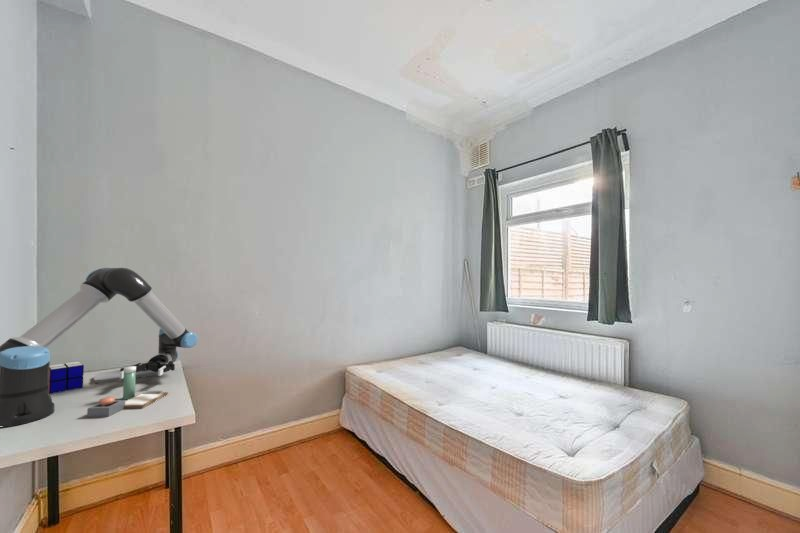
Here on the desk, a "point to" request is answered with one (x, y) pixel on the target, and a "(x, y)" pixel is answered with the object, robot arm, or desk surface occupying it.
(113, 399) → the button
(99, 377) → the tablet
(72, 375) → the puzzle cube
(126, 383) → the green bottle
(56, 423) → the desk surface
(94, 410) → the button box
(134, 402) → the open book
